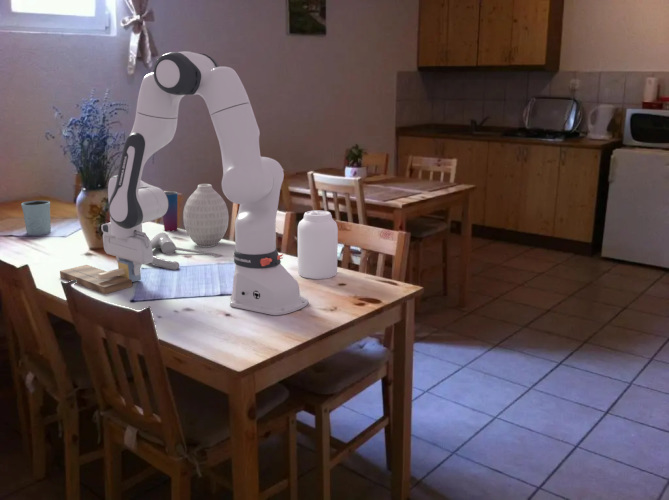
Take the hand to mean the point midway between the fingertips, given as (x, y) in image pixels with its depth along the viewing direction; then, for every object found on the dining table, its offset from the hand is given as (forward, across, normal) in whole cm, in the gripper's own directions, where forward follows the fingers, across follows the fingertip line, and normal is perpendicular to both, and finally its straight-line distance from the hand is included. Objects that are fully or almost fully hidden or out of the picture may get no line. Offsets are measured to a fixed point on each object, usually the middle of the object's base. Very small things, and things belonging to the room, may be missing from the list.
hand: (129, 272), depth 194 cm
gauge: (+2, 0, +4) cm, 5 cm away
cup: (+3, +45, -50) cm, 67 cm away
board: (+2, +7, +7) cm, 10 cm away
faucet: (+3, +10, -26) cm, 28 cm away
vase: (+3, +16, -44) cm, 47 cm away
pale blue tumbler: (+3, +79, -13) cm, 80 cm away
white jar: (+3, -38, -43) cm, 57 cm away
